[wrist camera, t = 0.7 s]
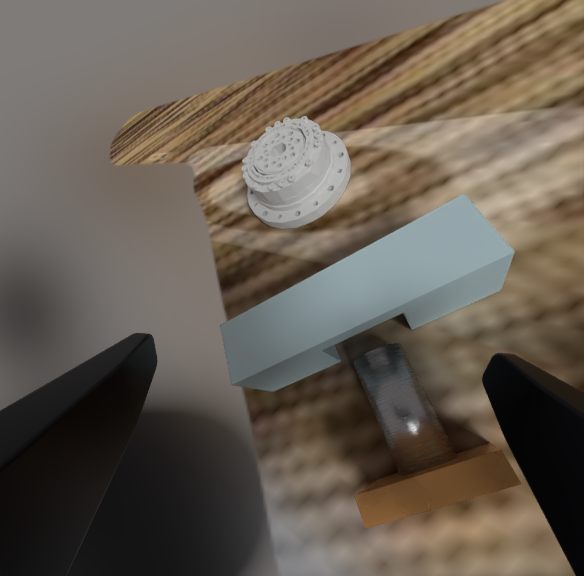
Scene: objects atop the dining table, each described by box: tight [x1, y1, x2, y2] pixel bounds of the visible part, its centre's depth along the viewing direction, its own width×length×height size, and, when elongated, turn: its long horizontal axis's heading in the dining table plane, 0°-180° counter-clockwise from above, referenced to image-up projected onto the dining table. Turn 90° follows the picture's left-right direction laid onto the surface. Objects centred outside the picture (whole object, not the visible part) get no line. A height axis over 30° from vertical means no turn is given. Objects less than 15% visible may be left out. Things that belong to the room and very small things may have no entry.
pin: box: [353, 343, 521, 528], centre depth 16 cm, size 7×6×4 cm
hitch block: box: [220, 194, 515, 392], centre depth 19 cm, size 4×16×5 cm, turn 109°
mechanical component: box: [241, 116, 351, 229], centre depth 27 cm, size 10×4×10 cm
